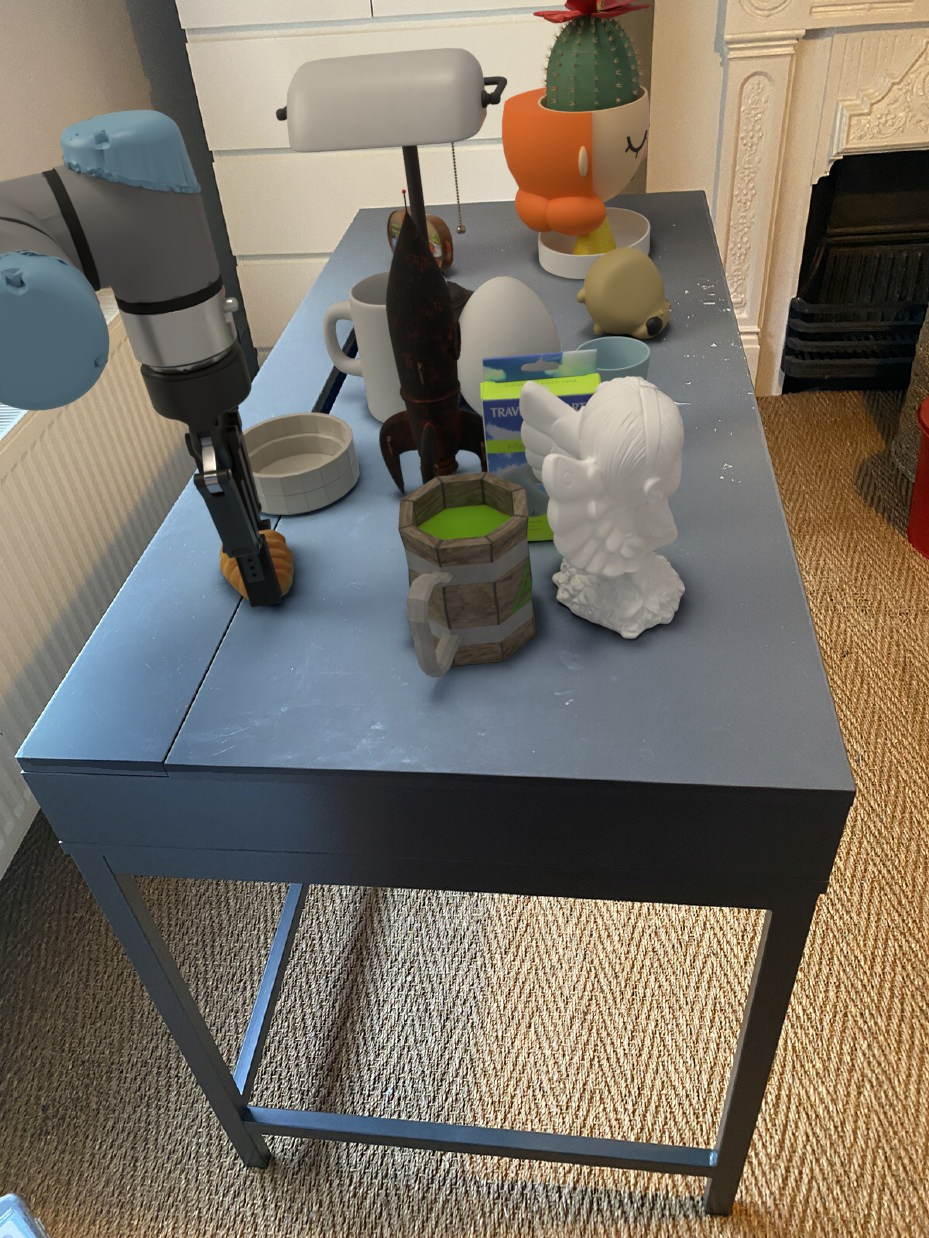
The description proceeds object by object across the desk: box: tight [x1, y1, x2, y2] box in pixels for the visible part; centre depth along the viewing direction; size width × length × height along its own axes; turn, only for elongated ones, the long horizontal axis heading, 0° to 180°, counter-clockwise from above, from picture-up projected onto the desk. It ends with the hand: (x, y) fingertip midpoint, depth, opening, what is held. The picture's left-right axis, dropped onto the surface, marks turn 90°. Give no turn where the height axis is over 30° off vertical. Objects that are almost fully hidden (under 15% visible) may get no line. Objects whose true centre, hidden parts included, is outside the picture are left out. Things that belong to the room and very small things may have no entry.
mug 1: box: [323, 269, 461, 424], centre depth 108 cm, size 16×11×14 cm
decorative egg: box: [457, 275, 562, 417], centre depth 105 cm, size 12×12×15 cm
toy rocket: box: [378, 188, 488, 497], centre depth 86 cm, size 9×9×30 cm
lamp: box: [275, 47, 508, 321], centre depth 118 cm, size 26×24×34 cm
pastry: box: [218, 528, 295, 602], centre depth 87 cm, size 9×7×4 cm
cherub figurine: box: [519, 376, 686, 640], centre depth 74 cm, size 13×12×20 cm
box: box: [480, 349, 601, 542], centre depth 84 cm, size 10×4×17 cm, turn 88°
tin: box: [386, 207, 454, 273], centre depth 144 cm, size 15×3×8 cm, turn 37°
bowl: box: [242, 412, 361, 516], centre depth 99 cm, size 13×13×5 cm
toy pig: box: [575, 247, 672, 340], centre depth 119 cm, size 10×12×11 cm
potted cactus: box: [501, 0, 652, 280], centre depth 133 cm, size 22×22×35 cm
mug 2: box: [397, 471, 537, 678], centre depth 75 cm, size 16×11×12 cm
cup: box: [574, 336, 651, 383], centre depth 97 cm, size 8×8×10 cm
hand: (266, 599), depth 83 cm, fingers closed
